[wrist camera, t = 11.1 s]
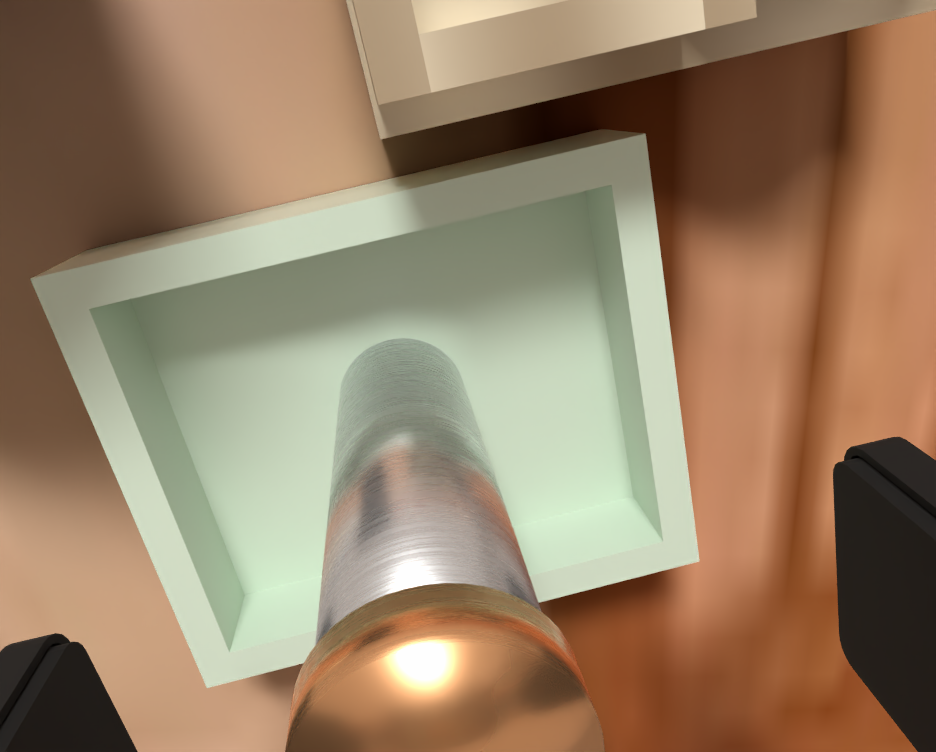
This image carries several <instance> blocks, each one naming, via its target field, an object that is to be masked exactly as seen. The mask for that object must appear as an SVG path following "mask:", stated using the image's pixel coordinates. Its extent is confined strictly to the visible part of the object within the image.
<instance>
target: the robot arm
mask: <svg viewBox="0 0 936 752" xmlns="http://www.w3.org/2000/svg"><path fill="white" fill-rule="evenodd" d="M833 486H834V511H835V537H836V563H837V589H838V615H839V636H840V642H841V645H842V649H843V651H844V654H845V656H846V658H847V660H848V662H849V663H850V665H851V666H852V668H853V669H854V670H855V672H856V673H857V674H858V676H859V677H860V678H861V679H862V681H863V682H864V683H865V685H866V686H867V687H868V688H869V690H870V691H871V692H872V693H873V695H874V696H875V697H876V699H877V700H878V701H879V702H880V704H881V705H882V706H883V708H884V709H885V710H886V711H887V713H888V714H889V715H890V716H891V718H892V719H893V720H894V722H895V723H896V724H897V725H898V727H899V728H900V729H901V731H902V732H903V733H904V734H905V736H906V737H907V738H908V739H909V741H910V742H911V743H912V745H913V746H914V747H915V748H916V750H917V751H918V752H936V460H934V459H933V458H931V457H930V456H928V455H927V454H926V453H924V452H923V451H921V450H920V449H918V448H917V447H916V446H914V445H913V444H911V443H910V442H908V441H907V440H905V439H903V438H901V437H892V438H887V439H883V440H879V441H875V442H870V443H866V444H862V445H858V446H853V447H850V448H849V449H848V450H847V451H846V454H845V456H844V461H842V462H838V463H837V464H836V465H835V467H834V470H833ZM0 752H137V750H136V748H135V746H134V744H133V742H132V740H131V738H130V736H129V734H128V732H127V730H126V728H125V726H124V724H123V722H122V720H121V718H120V716H119V714H118V712H117V710H116V709H115V707H114V705H113V703H112V701H111V699H110V697H109V695H108V693H107V691H106V689H105V687H104V685H103V683H102V681H101V679H100V677H99V675H98V673H97V671H96V669H95V667H94V665H93V663H92V661H91V659H90V657H89V655H88V653H87V652H86V650H85V648H84V647H83V645H81V644H80V643H78V642H70V641H69V640H68V638H66V637H65V636H63V635H62V634H56V633H55V634H51V635H47V636H42V637H38V638H34V639H30V640H25V641H21V642H17V643H13V644H10V645H8V646H5V648H4V649H3V650H2V651H1V652H0Z"/></svg>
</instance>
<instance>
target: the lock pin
mask: <svg viewBox="0 0 936 752" xmlns="http://www.w3.org/2000/svg"><path fill="white" fill-rule="evenodd" d="M285 752H605V748H604V739H603V733H602V730H601V726H600V723H599V719H598V717H597V714H596V711H595V709H594V706H593V703H592V701H591V698H590V695H589V693H588V690H587V687H586V685H585V682H584V679H583V676H582V674H581V671H580V668H579V666H578V663H577V660H576V658H575V655H574V653H573V651H572V649H571V647H570V645H569V643H568V641H567V639H566V638H565V636H564V635H563V634H562V632H561V631H560V629H559V628H558V627H557V626H556V625H555V624H554V623H553V622H552V621H551V620H550V619H549V618H548V617H547V616H546V615H545V614H543V613H542V611H541V608H540V605H539V602H538V600H537V597H536V594H535V591H534V588H533V585H532V582H531V579H530V576H529V573H528V570H527V567H526V564H525V562H524V559H523V556H522V553H521V550H520V547H519V544H518V541H517V538H516V535H515V532H514V529H513V526H512V523H511V521H510V518H509V515H508V512H507V509H506V506H505V503H504V500H503V497H502V494H501V491H500V488H499V485H498V483H497V480H496V477H495V474H494V471H493V468H492V465H491V462H490V459H489V456H488V453H487V450H486V447H485V444H484V442H483V439H482V436H481V433H480V430H479V427H478V424H477V421H476V418H475V415H474V412H473V409H472V406H471V404H470V401H469V398H468V395H467V392H466V389H465V386H464V383H463V380H462V377H461V375H460V373H459V370H458V368H457V367H456V365H455V364H454V362H453V361H452V360H451V359H450V358H449V357H448V356H447V355H446V354H445V353H444V352H443V351H441V350H440V349H438V348H437V347H435V346H433V345H431V344H429V343H426V342H423V341H420V340H415V339H407V338H400V339H391V340H386V341H383V342H380V343H378V344H375V345H373V346H371V347H370V348H368V349H366V350H365V351H363V352H362V353H361V354H360V355H359V356H358V357H357V358H356V359H355V360H354V361H353V362H352V363H351V365H350V366H349V367H348V369H347V371H346V373H345V375H344V377H343V380H342V383H341V388H340V395H339V405H338V416H337V426H336V436H335V446H334V457H333V467H332V477H331V488H330V498H329V508H328V518H327V529H326V539H325V549H324V560H323V570H322V580H321V590H320V601H319V611H318V621H317V632H316V642H315V647H314V648H313V649H312V650H311V652H310V653H309V655H308V657H307V659H306V660H305V662H304V664H303V666H302V667H301V670H300V672H299V675H298V678H297V680H296V683H295V687H294V692H293V697H292V703H291V711H290V719H289V727H288V735H287V742H286V750H285Z"/></svg>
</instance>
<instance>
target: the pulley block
mask: <svg viewBox="0 0 936 752" xmlns="http://www.w3.org/2000/svg"><path fill="white" fill-rule="evenodd" d="M346 2H347V6H348V10H349V14H350V18H351V22H352V27H353V31H354V35H355V39H356V43H357V47H358V51H359V55H360V59H361V63H362V67H363V71H364V75H365V79H366V83H367V87H368V91H369V96H370V100H371V104H372V108H373V112H374V116H375V120H376V124H377V128H378V132H379V136H380V140H381V139H385V138H389V137H393V136H398V135H402V134H406V133H411V132H415V131H419V130H423V129H428V128H432V127H436V126H441V125H445V124H449V123H453V122H458V121H462V120H466V119H471V118H475V117H479V116H483V115H488V114H492V113H496V112H501V111H505V110H509V109H513V108H518V107H522V106H526V105H531V104H535V103H539V102H543V101H548V100H552V99H556V98H561V97H565V96H569V95H574V94H578V93H582V92H586V91H591V90H595V89H599V88H604V87H608V86H612V85H616V84H621V83H625V82H629V81H634V80H638V79H642V78H646V77H651V76H655V75H659V74H664V73H668V72H672V71H676V70H681V69H685V68H689V67H694V66H698V65H702V64H706V63H711V62H715V61H719V60H724V59H728V58H732V57H736V56H741V55H745V54H749V53H754V52H758V51H762V50H766V49H771V48H775V47H779V46H784V45H788V44H792V43H796V42H801V41H805V40H809V39H814V38H818V37H822V36H826V35H831V34H835V33H839V32H844V31H848V30H852V29H856V28H861V27H865V26H869V25H874V24H878V23H882V22H887V21H891V20H895V19H899V18H904V17H908V16H912V15H917V14H921V13H925V12H929V11H934V10H936V0H346Z"/></svg>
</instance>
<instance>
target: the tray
mask: <svg viewBox="0 0 936 752" xmlns="http://www.w3.org/2000/svg"><path fill="white" fill-rule="evenodd" d="M30 280H31V282H32V284H33V287H34V289H35V291H36V294H37V296H38V298H39V300H40V303H41V305H42V307H43V310H44V312H45V314H46V317H47V319H48V321H49V324H50V326H51V328H52V331H53V333H54V335H55V337H56V340H57V342H58V344H59V347H60V349H61V351H62V354H63V356H64V358H65V361H66V363H67V365H68V368H69V370H70V372H71V375H72V377H73V379H74V381H75V384H76V386H77V388H78V391H79V393H80V395H81V398H82V400H83V402H84V405H85V407H86V409H87V412H88V414H89V416H90V418H91V421H92V423H93V425H94V428H95V430H96V432H97V435H98V437H99V439H100V442H101V444H102V446H103V449H104V451H105V453H106V456H107V458H108V460H109V462H110V465H111V467H112V469H113V472H114V474H115V476H116V479H117V481H118V483H119V486H120V488H121V490H122V493H123V495H124V497H125V500H126V502H127V504H128V506H129V509H130V511H131V513H132V516H133V518H134V520H135V523H136V525H137V527H138V530H139V532H140V534H141V537H142V539H143V541H144V543H145V546H146V548H147V550H148V553H149V555H150V557H151V560H152V562H153V564H154V567H155V569H156V571H157V574H158V576H159V578H160V581H161V583H162V585H163V587H164V590H165V592H166V594H167V597H168V599H169V601H170V604H171V606H172V608H173V611H174V613H175V615H176V618H177V620H178V622H179V625H180V627H181V629H182V631H183V634H184V636H185V638H186V641H187V643H188V645H189V648H190V650H191V652H192V655H193V657H194V659H195V662H196V664H197V666H198V668H199V671H200V673H201V675H202V678H203V680H204V682H205V685H206V687H207V688H209V687H213V686H217V685H221V684H225V683H229V682H232V681H236V680H240V679H244V678H248V677H252V676H256V675H260V674H263V673H267V672H271V671H275V670H279V669H283V668H287V667H291V666H295V665H298V664H302V663H304V662H305V660H306V659H307V657H308V655H309V653H310V652H311V650H312V649H313V648H314V647H315V642H316V632H317V621H318V611H319V601H320V590H321V580H322V570H323V560H324V549H325V539H326V529H327V518H328V508H329V498H330V488H331V477H332V467H333V457H334V446H335V436H336V426H337V416H338V405H339V395H340V388H341V383H342V380H343V377H344V375H345V373H346V371H347V369H348V367H349V366H350V365H351V363H352V362H353V361H354V360H355V359H356V358H357V357H358V356H359V355H360V354H361V353H362V352H363V351H365V350H366V349H368V348H370V347H371V346H373V345H375V344H378V343H380V342H383V341H386V340H391V339H400V338H407V339H415V340H420V341H423V342H426V343H429V344H431V345H433V346H435V347H437V348H438V349H440V350H441V351H443V352H444V353H445V354H446V355H447V356H448V357H449V358H450V359H451V360H452V361H453V362H454V364H455V365H456V367H457V368H458V370H459V373H460V375H461V377H462V380H463V383H464V386H465V389H466V392H467V395H468V398H469V401H470V404H471V406H472V409H473V412H474V415H475V418H476V421H477V424H478V427H479V430H480V433H481V436H482V439H483V442H484V444H485V447H486V450H487V453H488V456H489V459H490V462H491V465H492V468H493V471H494V474H495V477H496V480H497V483H498V485H499V488H500V491H501V494H502V497H503V500H504V503H505V506H506V509H507V512H508V515H509V518H510V521H511V523H512V526H513V529H514V532H515V535H516V538H517V541H518V544H519V547H520V550H521V553H522V556H523V559H524V562H525V564H526V567H527V570H528V573H529V576H530V579H531V582H532V585H533V588H534V591H535V594H536V597H537V600H538V602H543V601H547V600H551V599H555V598H559V597H563V596H567V595H571V594H574V593H578V592H582V591H586V590H590V589H594V588H598V587H602V586H605V585H609V584H613V583H617V582H621V581H625V580H629V579H633V578H637V577H640V576H644V575H648V574H652V573H656V572H660V571H664V570H668V569H672V568H675V567H679V566H683V565H687V564H691V563H695V562H699V553H698V545H697V538H696V530H695V522H694V514H693V506H692V498H691V490H690V482H689V474H688V466H687V458H686V450H685V442H684V434H683V426H682V419H681V411H680V403H679V395H678V387H677V379H676V371H675V363H674V355H673V347H672V339H671V331H670V323H669V315H668V307H667V300H666V292H665V284H664V276H663V268H662V260H661V252H660V244H659V236H658V228H657V220H656V212H655V204H654V196H653V188H652V181H651V173H650V165H649V157H648V149H647V141H646V134H645V133H635V132H626V131H617V130H607V129H600V130H595V131H591V132H587V133H583V134H578V135H574V136H570V137H566V138H561V139H557V140H553V141H549V142H544V143H540V144H536V145H532V146H527V147H523V148H519V149H515V150H510V151H506V152H502V153H498V154H493V155H489V156H485V157H481V158H476V159H472V160H468V161H464V162H459V163H455V164H451V165H447V166H442V167H438V168H434V169H430V170H425V171H421V172H417V173H413V174H408V175H404V176H400V177H396V178H391V179H387V180H383V181H379V182H374V183H370V184H366V185H361V186H357V187H353V188H349V189H344V190H340V191H336V192H332V193H327V194H323V195H319V196H315V197H310V198H306V199H302V200H298V201H293V202H289V203H285V204H281V205H276V206H272V207H268V208H264V209H259V210H255V211H251V212H247V213H242V214H238V215H234V216H230V217H225V218H221V219H217V220H213V221H208V222H204V223H200V224H196V225H191V226H187V227H183V228H179V229H174V230H170V231H166V232H162V233H157V234H153V235H149V236H145V237H140V238H136V239H132V240H128V241H123V242H119V243H115V244H111V245H106V246H102V247H98V248H94V249H89V250H86V251H84V252H82V253H80V254H78V255H76V256H74V257H72V258H70V259H68V260H66V261H64V262H62V263H60V264H58V265H56V266H54V267H52V268H50V269H48V270H46V271H45V272H43V273H41V274H39V275H37V276H35V277H33V278H31V279H30Z"/></svg>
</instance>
